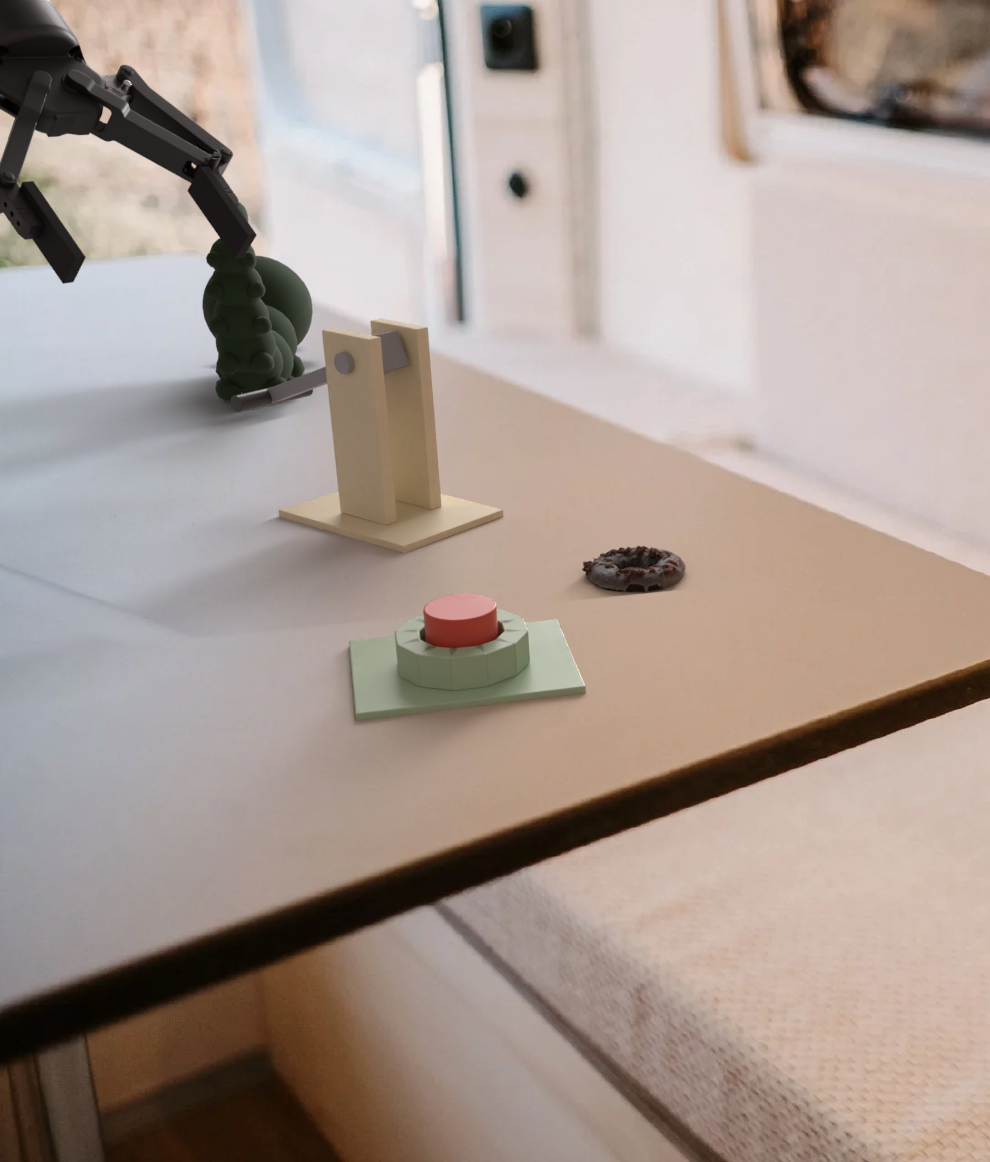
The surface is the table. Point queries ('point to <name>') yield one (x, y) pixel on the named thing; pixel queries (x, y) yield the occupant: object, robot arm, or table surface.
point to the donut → (659, 573)
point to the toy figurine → (254, 319)
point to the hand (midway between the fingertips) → (164, 258)
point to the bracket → (385, 447)
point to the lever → (317, 378)
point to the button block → (461, 669)
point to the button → (460, 621)
